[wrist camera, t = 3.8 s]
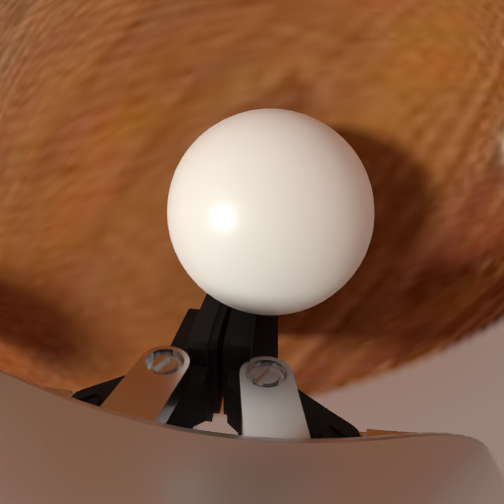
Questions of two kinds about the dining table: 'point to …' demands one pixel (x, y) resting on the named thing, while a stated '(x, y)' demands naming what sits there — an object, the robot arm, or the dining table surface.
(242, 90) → the dining table surface
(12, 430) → the robot arm
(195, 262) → the cue ball
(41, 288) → the dining table surface
